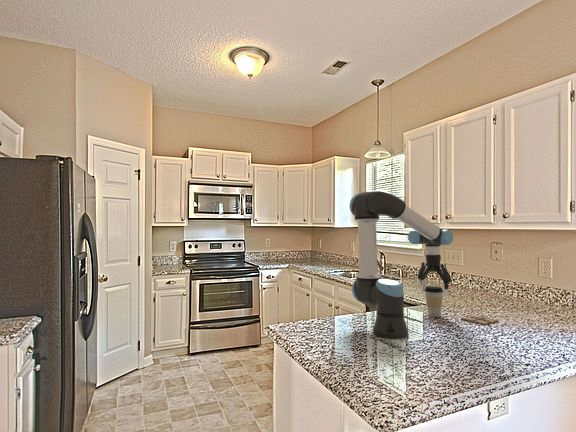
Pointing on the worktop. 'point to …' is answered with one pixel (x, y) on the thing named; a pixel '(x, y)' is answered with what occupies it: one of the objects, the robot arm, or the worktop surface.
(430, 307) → the coffee cup
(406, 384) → the worktop surface
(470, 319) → the plate
